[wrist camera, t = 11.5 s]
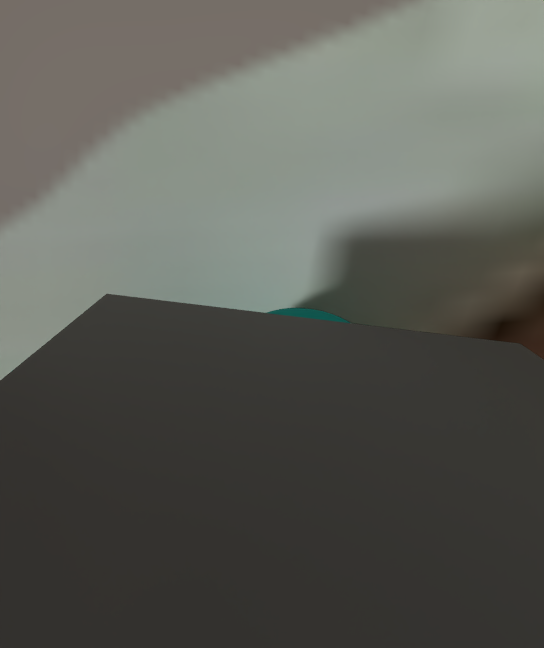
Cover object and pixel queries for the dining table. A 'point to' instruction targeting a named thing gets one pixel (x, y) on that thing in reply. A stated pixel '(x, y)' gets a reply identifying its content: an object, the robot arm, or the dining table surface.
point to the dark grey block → (269, 485)
